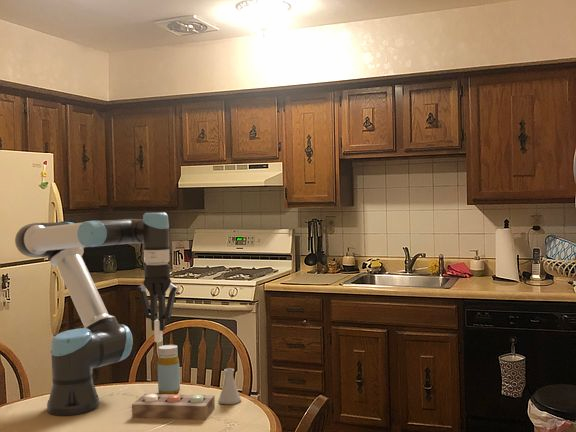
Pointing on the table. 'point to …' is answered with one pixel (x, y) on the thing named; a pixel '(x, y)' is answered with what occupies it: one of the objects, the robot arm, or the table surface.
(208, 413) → the console
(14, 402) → the table surface
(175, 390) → the bottle
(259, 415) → the table surface
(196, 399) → the button sage
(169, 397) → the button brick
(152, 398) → the button ivory
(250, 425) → the table surface
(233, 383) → the flask
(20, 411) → the table surface
